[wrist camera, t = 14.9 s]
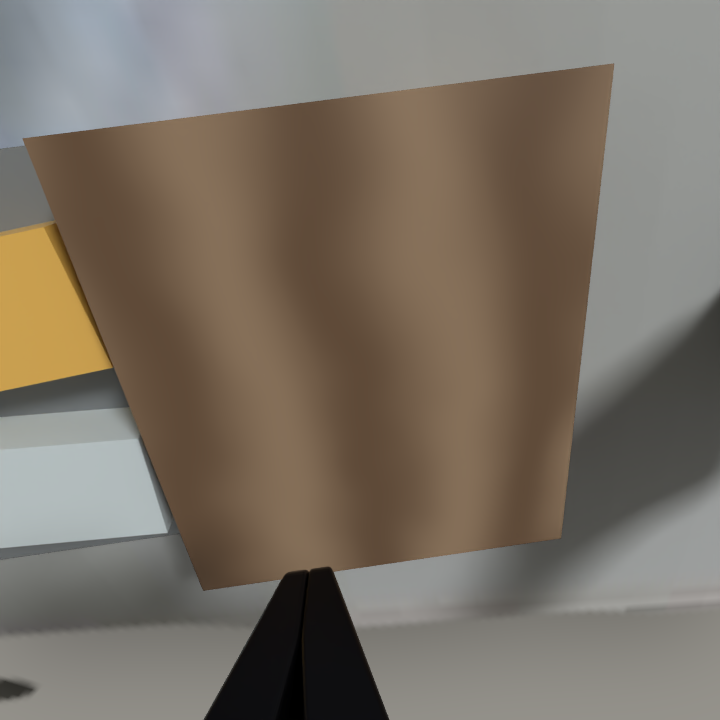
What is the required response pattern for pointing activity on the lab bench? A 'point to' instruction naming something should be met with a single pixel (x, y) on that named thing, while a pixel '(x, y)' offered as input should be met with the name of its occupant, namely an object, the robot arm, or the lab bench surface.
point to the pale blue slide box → (77, 479)
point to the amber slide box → (44, 311)
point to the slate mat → (76, 393)
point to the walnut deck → (346, 313)
